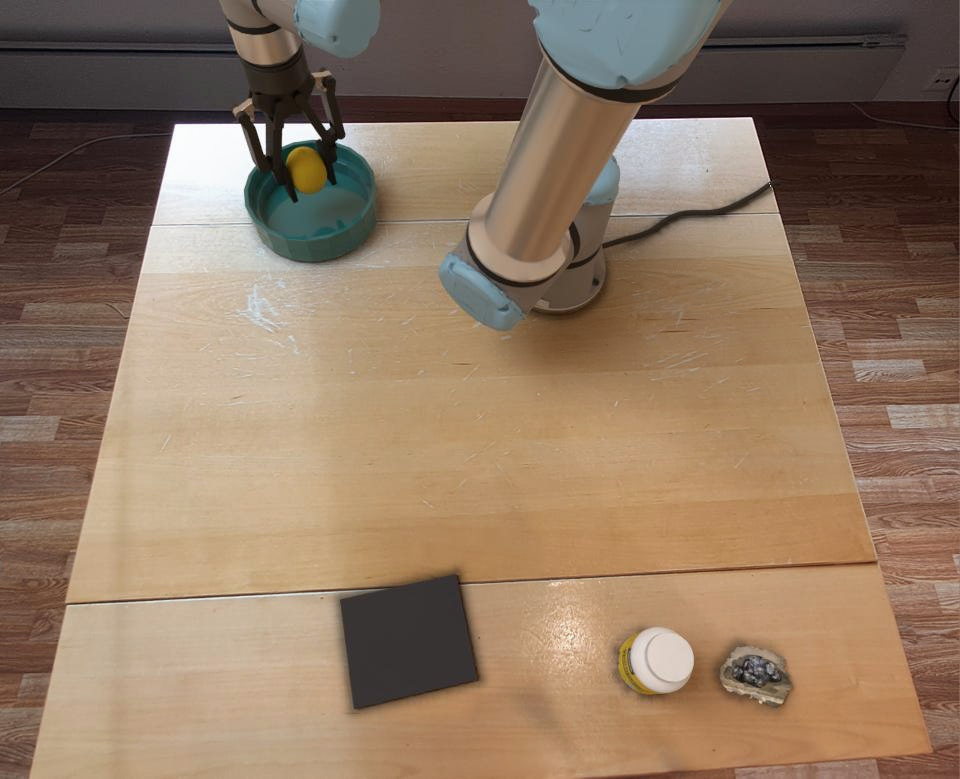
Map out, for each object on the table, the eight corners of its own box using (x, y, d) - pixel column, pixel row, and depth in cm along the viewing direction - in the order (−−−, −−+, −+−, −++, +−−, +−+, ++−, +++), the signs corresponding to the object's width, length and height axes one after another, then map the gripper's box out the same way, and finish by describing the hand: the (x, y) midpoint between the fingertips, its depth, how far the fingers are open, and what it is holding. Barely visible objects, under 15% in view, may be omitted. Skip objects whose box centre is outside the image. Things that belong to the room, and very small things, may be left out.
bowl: (369, 158, 111) (365, 131, 106) (388, 252, 103) (384, 228, 98) (249, 175, 109) (239, 149, 104) (259, 273, 101) (249, 250, 96)
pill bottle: (610, 637, 80) (633, 624, 70) (665, 632, 80) (695, 619, 70) (620, 697, 77) (645, 694, 67) (676, 692, 78) (709, 688, 67)
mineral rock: (795, 706, 77) (802, 706, 76) (726, 712, 77) (732, 712, 75) (779, 643, 80) (786, 641, 78) (712, 648, 80) (718, 647, 78)
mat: (456, 574, 83) (456, 573, 82) (477, 679, 78) (477, 679, 77) (340, 600, 81) (339, 599, 81) (354, 709, 76) (353, 709, 76)
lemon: (325, 208, 100) (313, 167, 93) (288, 201, 100) (274, 161, 93) (336, 179, 102) (325, 138, 95) (300, 174, 103) (287, 132, 95)
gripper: (326, 2, 83) (355, 146, 104) (182, 56, 79) (242, 196, 100) (355, 37, 81) (379, 178, 101) (207, 95, 76) (264, 231, 97)
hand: (311, 187), depth 101 cm, fingers closed on lemon, 6 cm apart
